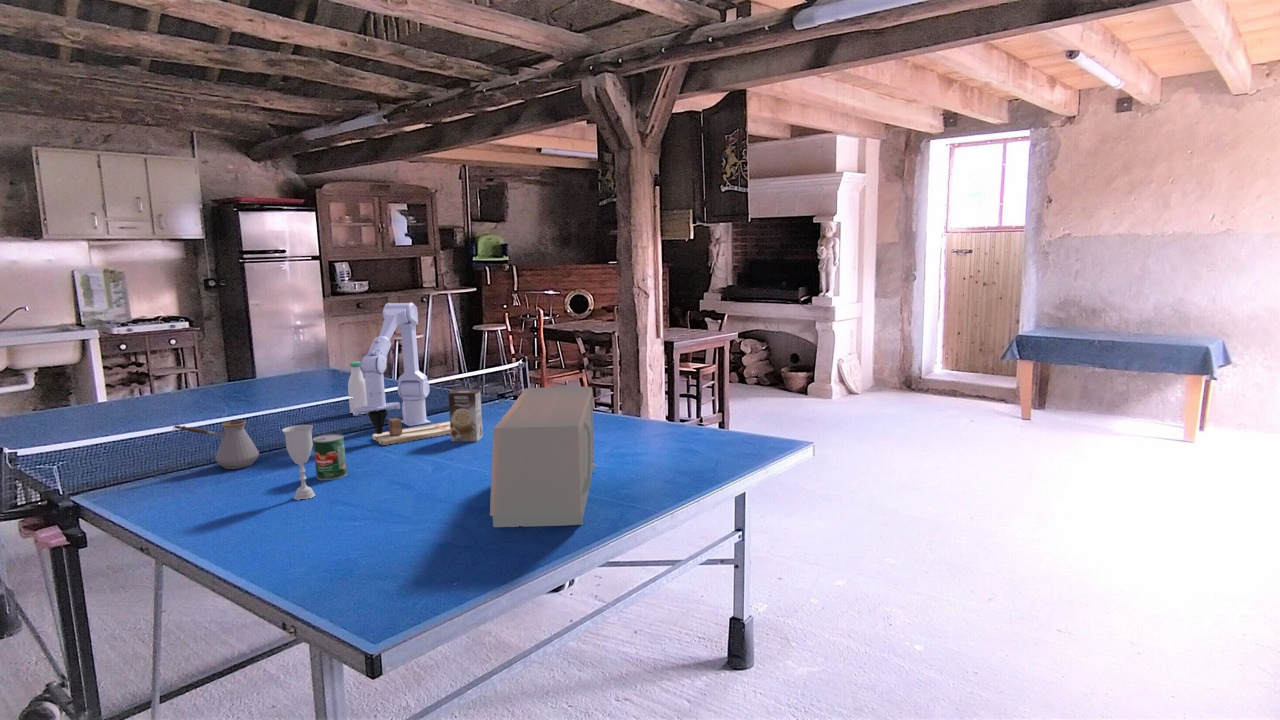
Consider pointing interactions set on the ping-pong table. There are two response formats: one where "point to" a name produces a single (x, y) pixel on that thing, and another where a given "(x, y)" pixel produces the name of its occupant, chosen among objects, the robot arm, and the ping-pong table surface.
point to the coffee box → (465, 415)
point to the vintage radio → (543, 458)
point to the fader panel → (414, 433)
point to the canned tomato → (329, 457)
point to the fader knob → (395, 426)
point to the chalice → (300, 454)
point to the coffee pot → (232, 445)
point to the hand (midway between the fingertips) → (378, 433)
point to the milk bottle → (356, 387)
